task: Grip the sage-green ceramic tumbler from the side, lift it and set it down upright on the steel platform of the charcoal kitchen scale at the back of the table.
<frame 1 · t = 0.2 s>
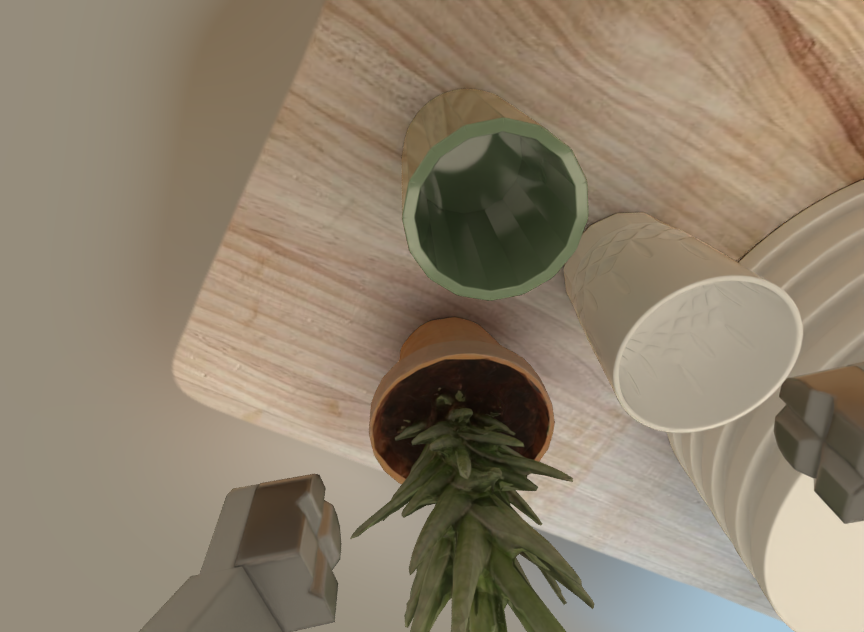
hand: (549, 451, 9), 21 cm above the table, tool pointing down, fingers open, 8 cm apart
white cup: (618, 265, 31), on the table
potted plant: (446, 354, 33), on the table
tumbler: (465, 156, 27), on the table
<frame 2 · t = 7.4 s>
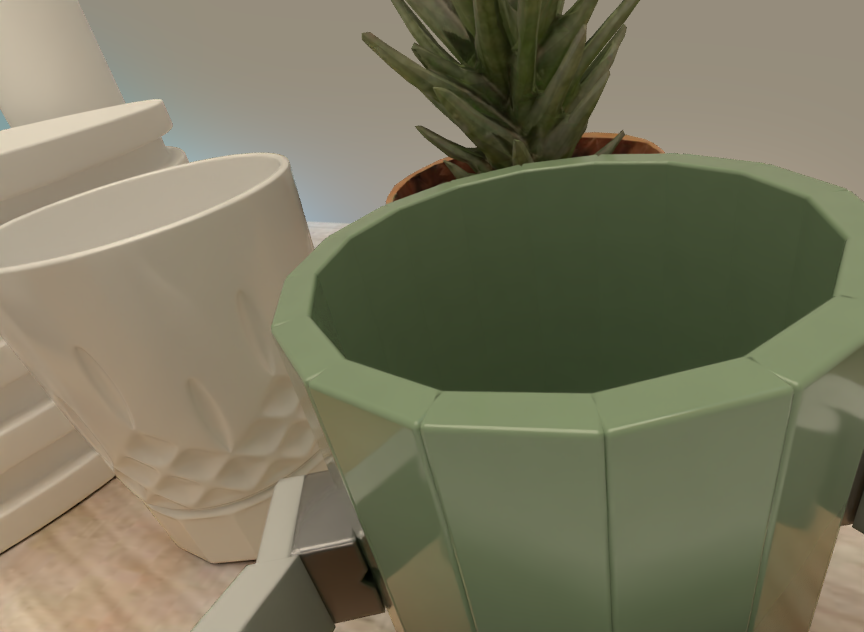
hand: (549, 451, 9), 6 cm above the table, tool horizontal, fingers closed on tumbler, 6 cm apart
white cup: (273, 480, 18), on the table
potted plant: (544, 346, 22), on the table
bottle: (142, 253, 45), on the table
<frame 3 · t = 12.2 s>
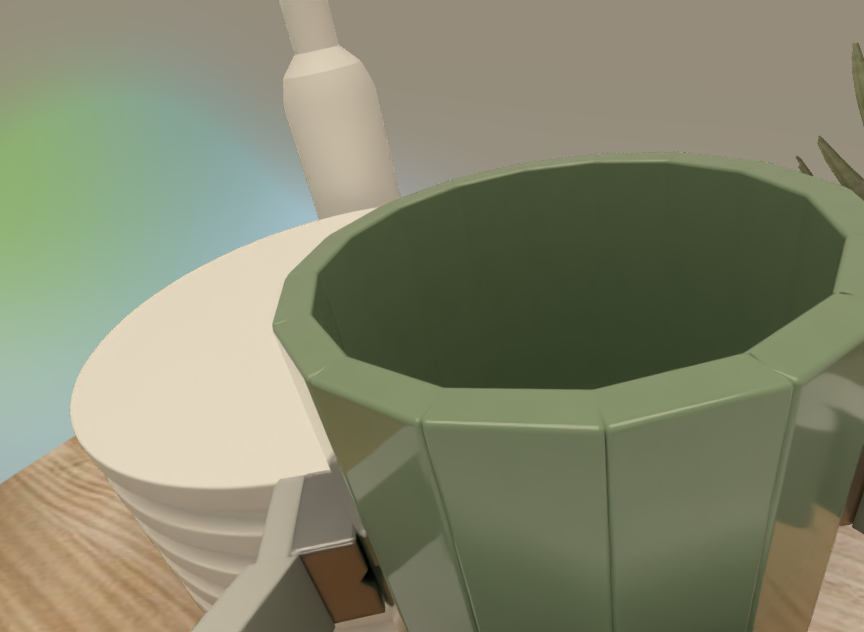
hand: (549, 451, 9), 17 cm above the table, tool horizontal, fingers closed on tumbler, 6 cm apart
plate stack: (386, 439, 35), on the table
bottle: (385, 301, 53), on the table
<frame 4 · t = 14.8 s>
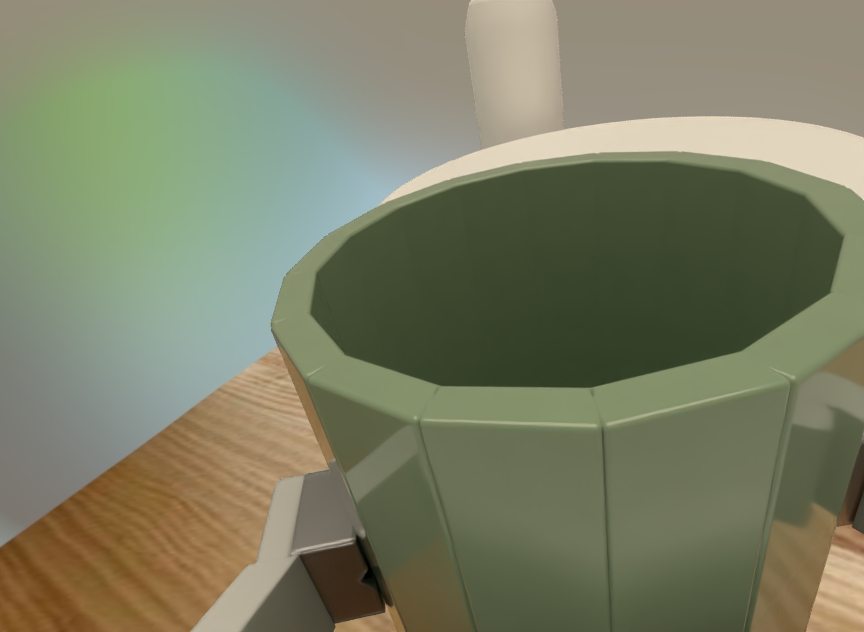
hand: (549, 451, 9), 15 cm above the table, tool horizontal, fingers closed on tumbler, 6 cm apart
plate stack: (602, 343, 36), on the table
bottle: (532, 238, 54), on the table
when the fingers open (8 cm above the table, at t = 17.2 s): tumbler stays where it is, resting on scale.
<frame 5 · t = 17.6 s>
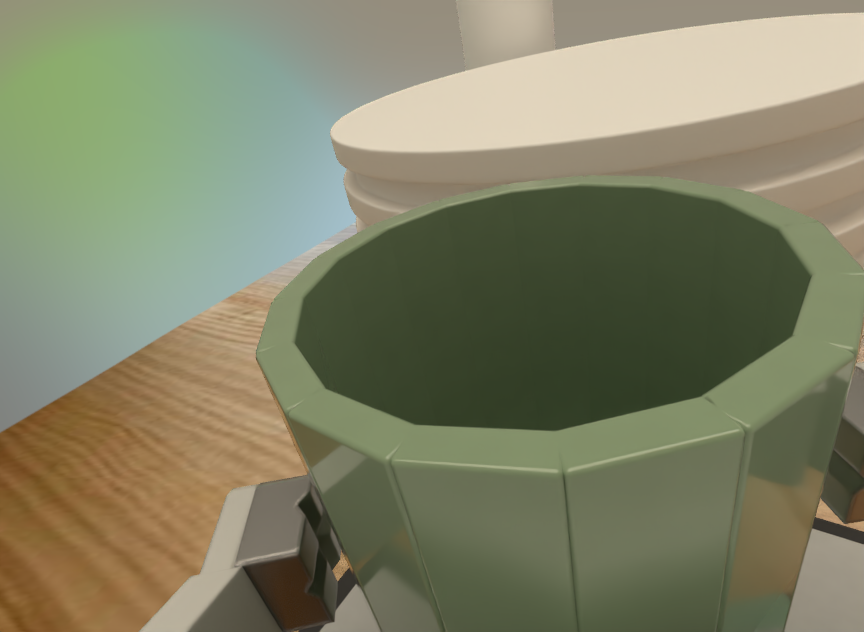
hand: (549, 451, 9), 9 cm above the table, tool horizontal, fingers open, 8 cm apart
plate stack: (595, 268, 33), on the table
bottle: (523, 184, 51), on the table
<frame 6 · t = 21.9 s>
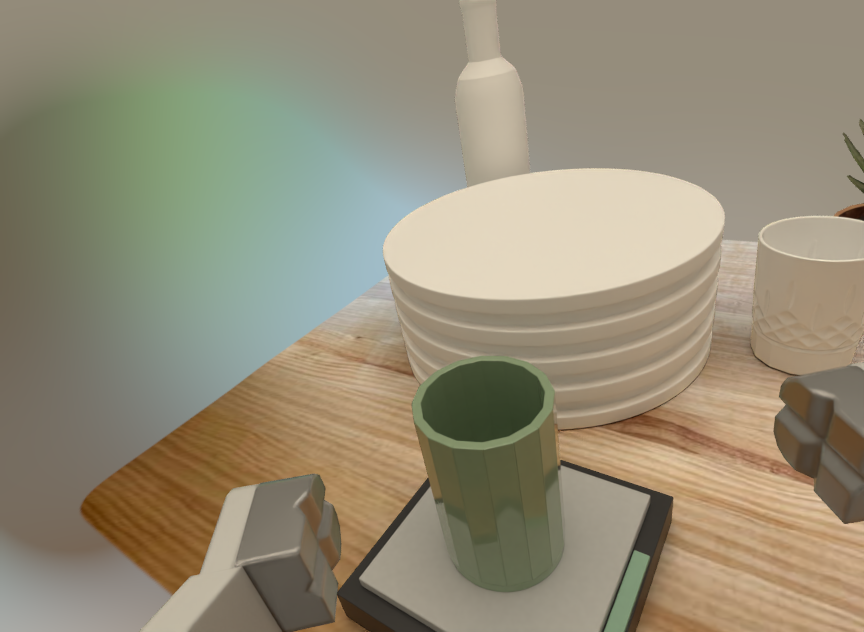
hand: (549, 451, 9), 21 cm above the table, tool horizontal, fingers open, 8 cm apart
white cup: (798, 353, 42), on the table
plate stack: (549, 330, 51), on the table
scale: (512, 567, 30), on the table
bottle: (506, 252, 68), on the table
tumbler: (504, 536, 29), point 3 cm above the table, touching scale
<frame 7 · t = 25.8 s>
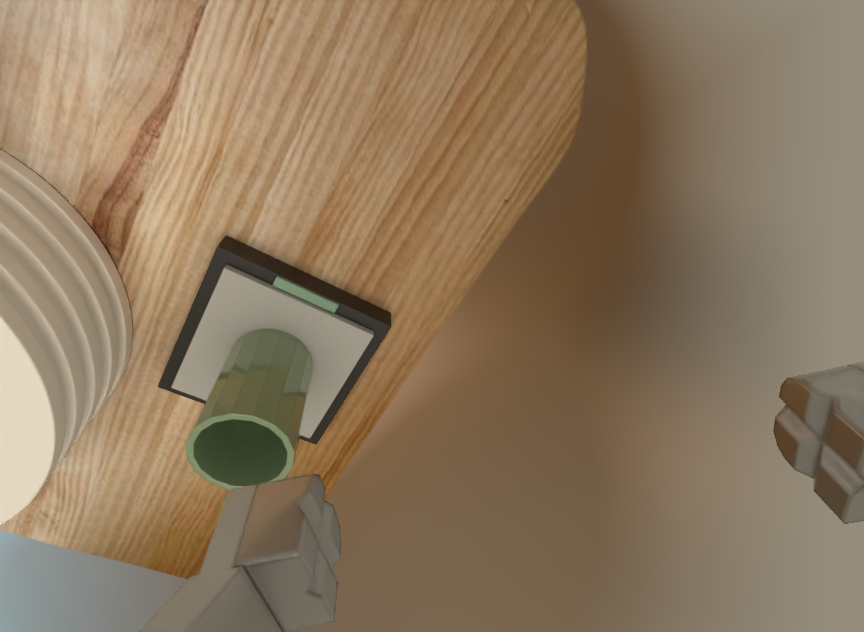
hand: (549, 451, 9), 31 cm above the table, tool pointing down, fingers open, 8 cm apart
scale: (277, 342, 44), on the table
tumbler: (271, 363, 41), point 3 cm above the table, touching scale
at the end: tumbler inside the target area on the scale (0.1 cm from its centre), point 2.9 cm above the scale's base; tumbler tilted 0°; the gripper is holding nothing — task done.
